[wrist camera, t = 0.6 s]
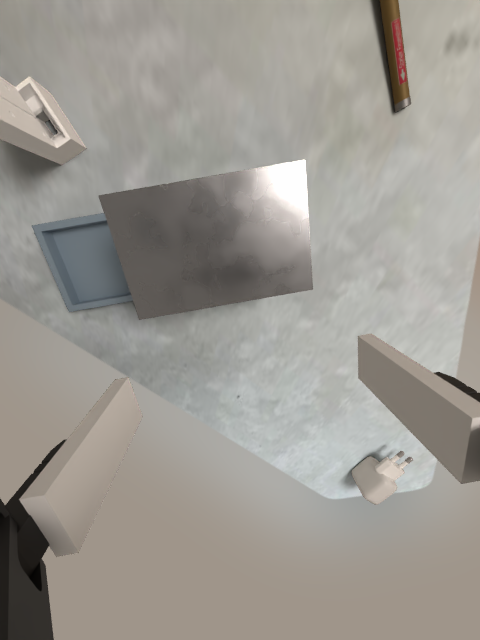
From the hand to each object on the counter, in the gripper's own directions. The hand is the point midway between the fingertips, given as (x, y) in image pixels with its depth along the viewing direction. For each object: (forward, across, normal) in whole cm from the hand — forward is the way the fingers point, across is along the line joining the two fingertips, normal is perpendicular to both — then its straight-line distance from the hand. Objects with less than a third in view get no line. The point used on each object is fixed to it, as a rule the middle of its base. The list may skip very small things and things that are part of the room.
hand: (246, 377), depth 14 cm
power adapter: (+24, +22, -38) cm, 51 cm away
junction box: (+23, -1, +8) cm, 24 cm away
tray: (+23, -17, +8) cm, 29 cm away
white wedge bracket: (+23, -17, +23) cm, 36 cm away
